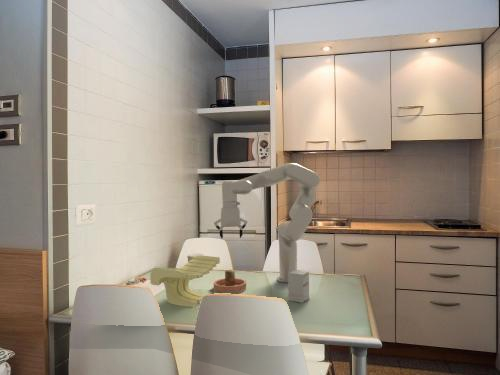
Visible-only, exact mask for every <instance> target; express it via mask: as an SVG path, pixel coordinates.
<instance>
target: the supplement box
mask: <svg viewBox="0 0 500 375" xmlns="http://www.w3.org/2000/svg"><path fill="white" fill-rule="evenodd" d="M287 286H288V288H287V289H288V292H287V293H288V301H290V302H298V303H304V302H305V301H307V300H308V299H309V300H310V272H309V270H308V271H307V270H299V269H297V270H294V271H292V272H290V273H288V284H287Z"/></svg>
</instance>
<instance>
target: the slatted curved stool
mask: <svg viewBox="0 0 500 375" xmlns="http://www.w3.org/2000/svg"><path fill="white" fill-rule="evenodd" d="M220 261H221V259H220V257H219V256H210V255H209V256H208V255H203V256H201V255H197V256H195V257H193V258H192V259H191V260H190V261H188V260H187V263H184V265H183V266H182V267H180V268H178V269H167V268H159V267H153V268H152V269H151V271H150V275H149V276H150V277H149V278H150V285H152V286H159V285H162V284H163V285H164V288H165V289H164V290H165V295H166V299H167V300H166V301H167V302H168V303H169V304H171V305H178V306H182V307H187V308H194V307H196V306H198V305H201V304H200V301H201V298H202V297H203V296H204V295H205V294H201V293H198V292H195V291H193V290H191V289H190V287H189V282H190V281H191V280H195V279H198V278H201V277H200V276H202V277H203V276H206V275H208V274H210V271H213V270H214V268H215V267H217V265H218V264H219V265H220ZM197 277H198V278H197Z"/></svg>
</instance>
